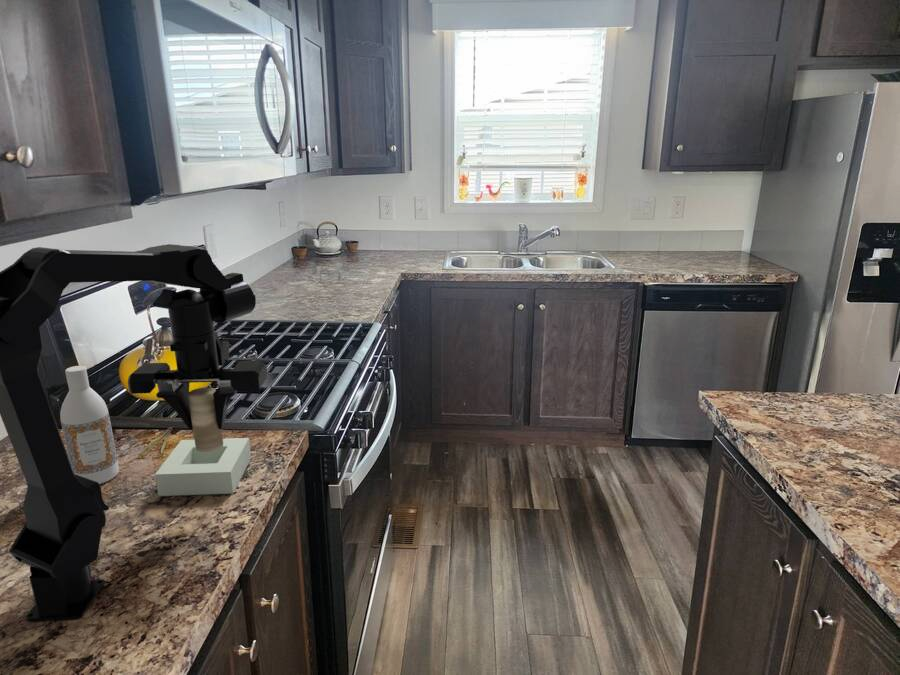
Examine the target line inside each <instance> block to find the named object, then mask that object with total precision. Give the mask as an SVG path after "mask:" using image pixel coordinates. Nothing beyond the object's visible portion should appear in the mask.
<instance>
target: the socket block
mask: <svg viewBox="0 0 900 675" xmlns="http://www.w3.org/2000/svg"><path fill="white" fill-rule="evenodd" d="M251 458H252V453H251V444H250V438H249V437H238V438H236V437H235V438H234V437H233V438H223V446H222V447H221V448H219V449H218V450H215V451H212V452H199V451H197V450H196V447H195V440H194V439H180V440H179V442H178V444H177V445H176V446H175V448H174V449H173V450H172V451H171V453H170V454H169V455H168V456H167V458H166V460H165V461H164V462H163V463H162V464H161V466H160V467H159V468H158V470H157V471H156V473H155V474H154V477H155V483H156V490H157V495H158V497H169V496H195V495H196V496H197V495H198V496H199V495H200V496H201V495H220V494H221V495H222V494H223V495H224V494H225V495H226V494H234V492H235V491H236V489H237V487H238V485H239V483H240V481H241V479H242V477H243V475H244V473H245V471H246V469H247V467H248V465H249V463H250V462H251Z"/></svg>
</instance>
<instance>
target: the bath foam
mask: <svg viewBox="0 0 900 675" xmlns="http://www.w3.org/2000/svg"><path fill="white" fill-rule="evenodd" d="M64 373H65V377H66V382H67V386H68V392H67V394H66V396H65V398H64V400H63V402H62V405H61V407H60V415H59V416H60V417H59V418H60V425H61V429H62V433H63V438H64V443H65V444H64V445H65V449H66V452H67V455H68V458H69V461H70V464H71V466H72V469H73V472H74V474H76V475H79V476H82V477H84V478H87V479H90V480H93V481H96V482H98V483H99V485H101V484H104V483H107V482H108V481H110V480H112V479H114V478H115V477H116V476H117V475H118V474H119V471H120V467H119V462H118V456H117V455H118V454H117V449H116V445H115V438H114V434H113V429H112V424H111V418H110V413H109V410H108V406H107V404H106V402H105V400H104V399H103V398H102V396H101V395H99V394H98V392H97V391H95V390H94V389H93V388H91V387H90V382H89V377H88V371H87V367H86V366H84V365H74V366H70V367H68V368H66V369H65V372H64Z"/></svg>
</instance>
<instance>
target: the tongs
mask: <svg viewBox="0 0 900 675" xmlns="http://www.w3.org/2000/svg"><path fill="white" fill-rule="evenodd" d="M172 430H173V427H170V426H169V427H168V428H166V431H165V432H164V433H163V434H162V435H160V436H159V437H156V438H155V439H153V440H152V441H150V442H149V443H148V445H147V446H146V447H145V448H144V450H142V453H139V454H138V456H137V457H138V459H140V460H141V459H143V460H145V459H146V455H147V453H149V452H150V450H151V449H152V448H153V447H154V446H156V445H158V443H159V442H161V441H162V440H164V441H163V442H162V446H161V448H160V452H159V453H158V454H157V455H154V456H152V459H153V460H154V459H156V458H157V459H159V458H160V457H161V458H162V456H163V454H164V453H163V452H164V449H165V447H166V444H167V441H168V438H169V435H170V433H171V431H172ZM163 438H164V439H163Z"/></svg>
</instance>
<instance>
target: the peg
mask: <svg viewBox="0 0 900 675" xmlns="http://www.w3.org/2000/svg"><path fill="white" fill-rule="evenodd" d="M216 390H217V389H215V388H214V387H208V386H207V387H198V388H196V389H193V390H189V393H188V401H189V408H190V414H191V421H192V427H193V430H192V434H193V440H195V447H196V450H197V451H199V452H212V451H215V450H218V449H219V448H221V447H222V446H223V439H224V438H223V432H222V429H219V428H218V424H217V420H216V412H215V405H214V397H213V393H214V392H215V391H216Z"/></svg>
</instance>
